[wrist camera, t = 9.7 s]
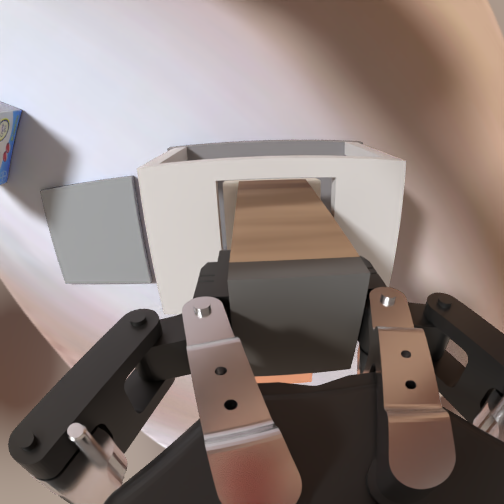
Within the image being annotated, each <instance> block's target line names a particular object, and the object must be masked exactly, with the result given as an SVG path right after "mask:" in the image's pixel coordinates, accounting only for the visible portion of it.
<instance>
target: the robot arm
mask: <svg viewBox="0 0 504 504" xmlns="http://www.w3.org/2000/svg"><path fill="white" fill-rule="evenodd" d="M230 252H231V250H220V251H219V256H218V261H217V262H207V263H206V264H205V265H204V266H203V267H202V268H201V270H200V274H199V278H198V282H197V285H196V289H195V292H194V296H193V299H191V300H190V301H188V302H187V303H185V304H184V306H183V307H182V313H181V314H179V315H177V316H174V317H169V318H165V319H160V320H159V316H158V314H157V313H156V312H155V311H153V310H150V309H138V310H134V311H131V312H129V313H127V314H126V315H124V316H123V317H122V318H121V319H120V320H119V321H118V322H117V323H116V324H115V325H114V326H113V327H112V328H111V329H110V330H109V331H108V332H107V333H106V334H105V335H104V336H103V337H102V338H101V339H100V340H99V341H98V342H97V343H96V344H95V345H94V346H93V347H92V348H91V349H90V350H89V351H88V352H87V353H86V354H85V355H84V356H83V357H82V358H81V359H80V360H79V361H78V362H77V363H76V364H75V365H74V366H73V367H72V368H71V369H70V370H69V371H68V372H67V373H66V375H64V377H63V378H62V379H61V380H60V381H59V382H58V383H57V384H56V385H55V386H54V387H53V388H52V389H51V390H50V391H49V392H48V393H47V394H46V396H45V397H44V398H43V399H42V400H41V401H40V402H39V403H38V404H37V405H36V406H35V407H34V408H33V409H32V411H31V412H30V413H29V414H28V415H27V416H26V417H25V418H24V419H23V420H22V421H21V423H20V424H19V425H18V426H17V427H16V428H15V429H14V431H13V432H12V434H11V435H10V438H9V443H8V445H9V452H10V454H11V456H12V457H13V458H14V459H15V460H16V461H17V462H18V463H19V464H20V465H21V466H22V467H23V468H24V469H26V470H27V471H28V472H29V474H30V475H31V476H32V477H33V478H35V479H36V480H37V481H38V482H40V483H41V484H42V485H43V486H45V487H46V488H47V489H49V490H50V491H51V492H53V493H54V494H57V495H58V496H60V497H61V498H63V499H64V500H65V501H67V502H68V503H70V504H504V334H503V333H502V332H500V331H499V330H498V329H496V328H495V327H494V326H492V325H491V324H490V323H488V322H487V321H486V320H484V319H483V318H482V317H480V316H479V315H478V314H476V313H475V312H474V311H472V310H471V309H469V308H468V307H467V306H465V305H464V304H463V303H461V302H460V301H458V300H457V299H456V298H454V297H452V296H450V295H448V294H444V293H433V294H431V295H429V296H428V298H427V302H426V304H416V303H409V302H407V299H406V296H405V295H404V294H403V293H402V292H400V291H399V290H397V289H394V288H390V287H387V286H386V284H385V283H384V281H383V280H382V279H381V277H380V276H379V274H377V271H376V270H375V269H374V267H373V266H372V264H371V263H370V261H368V260H367V259H365V258H364V257H362V256H360V257H361V259H362V261H363V262H364V264H365V265H366V267H367V268H368V270H369V271H370V279H369V285H368V291H367V296H366V301H365V307H364V312H363V316H362V321H361V326H360V331H359V335H358V339H357V341H359V348H358V352H357V374H356V375H349V376H346V377H343V378H340V379H337V380H334V381H331V382H328V383H325V384H322V385H318V386H308V385H299V384H290V383H282V382H271V383H257V382H256V379H255V377H254V374H253V372H252V369H251V367H250V364H249V362H248V359H247V357H246V354H245V351H244V349H243V346H242V344H241V341H240V339H239V337H238V336H236V337H234V334H233V331H232V321H231V312H230V302H229V292H228V281H227V280H228V270H229V261H230ZM449 339H451V340H453V341H454V342H455V343H456V344H457V345H459V346H460V347H461V348H462V349H463V350H464V351H465V352H466V353H467V355H468V364H467V366H466V368H465V367H464V366H463V365H462V364H461V363H460V362H459V361H457V360H456V359H455V358H454V357H453V356H452V355H451V354H450V353H448V352H447V351H446V350H445V349H446V346H447V344H448V342H449ZM134 368H135V370H134V371H133V372H132V370H133V369H134ZM131 372H132V373H131ZM130 373H131V375H130V376H129V377H128V375H129V374H130ZM188 374H191V377H192V382H193V387H194V392H195V397H196V402H197V407H198V412H199V417H200V419H199V420H197V421H196V422H195V423H194V424H193V425H192V426H191V427H190V428H189V429H188V430H187V431H185V432H184V433H183V434H182V435H181V436H180V437H179V438H178V439H177V440H175V441H174V442H173V443H172V444H171V445H170V446H169V447H167V448H166V449H165V450H164V451H163V452H162V453H161V454H160V455H158V456H157V457H156V458H155V459H154V460H152V461H151V462H150V463H149V464H148V465H146V466H145V467H144V468H143V469H141V470H140V471H139V472H138V473H137V474H135V475H134V476H133V477H132V478H130V479H129V480H128V481H127V482H125V483H124V484H123V485H122V483H123V482H122V481H123V479H124V475H125V473H126V471H127V459H126V457H125V455H124V453H125V452H126V450H127V449H128V448H129V446H130V445H131V443H132V442H133V440H134V439H135V437H136V436H137V435H138V433H139V432H140V430H141V429H142V427H143V426H144V424H145V423H146V422H147V420H148V419H149V417H150V416H151V414H152V413H153V411H154V410H155V408H156V407H157V406H158V404H159V403H160V401H161V400H162V398H163V397H164V395H165V394H166V392H167V391H168V390H169V388H170V387H171V385H172V384H173V382H174V380H175V377H180V376H184V375H188ZM127 377H128V378H127ZM126 378H127V379H126ZM125 380H126V381H125ZM439 392H440V393H441V394H442V395H443V396H444V397H445V398H446V399H447V400H448V401H449V402H450V404H451V405H452V406H453V407H454V408H455V409H456V410H458V412H459V413H460V414H461V415H462V416H463V417H464V418H465V419H466V420H467V421H466V420H464V419H463V418H461V417H459V416H458V415H456V414H454V413H453V412H451V411H449V410H447V409H446V408H444V407H442V406H441V401H440V396H439Z"/></svg>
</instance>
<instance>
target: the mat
mask: <svg viewBox="0 0 504 504" xmlns="http://www.w3.org/2000/svg"><path fill="white" fill-rule="evenodd" d="M40 192H41V197H42V201H43V206H44V210H45V215H46V219H47V223H48V227H49V231H50V234H51V238H52V242H53V245H54V249H55V252H56V255H57V259H58V262H59V265H60V268H61V271H62V274H63V277H64V280H65V283H66V284H109V283H151V282H152V277H151V273H150V268H149V263H148V258H147V254H146V249H145V243H144V238H143V233H142V227H141V222H140V216H139V210H138V204H137V198H136V191H135V184H134V177H133V176H126V177H118V178H111V179H104V180H97V181H90V182H84V183H78V184H72V185H66V186H61V187H55V188H50V189H45V190H42V191H40Z"/></svg>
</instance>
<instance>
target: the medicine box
mask: <svg viewBox="0 0 504 504" xmlns="http://www.w3.org/2000/svg"><path fill="white" fill-rule="evenodd" d="M21 112H22V110H20V109H18V108H15V107H13V106H10V105H8V104H5V103H3V102H0V185H2V184H4V183H6V182H7V179H8V175H9V168H10V162H11V156H12V150H13V145H14V140H15V136H16V131H17V127H18V123H19V119H20V116H21Z"/></svg>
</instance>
